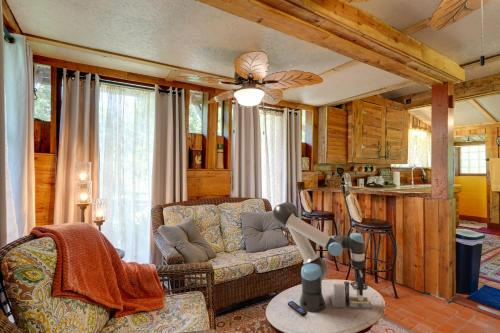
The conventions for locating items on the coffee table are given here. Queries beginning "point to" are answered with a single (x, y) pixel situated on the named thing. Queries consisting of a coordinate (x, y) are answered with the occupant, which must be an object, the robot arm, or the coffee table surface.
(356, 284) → the mechanical component
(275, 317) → the coffee table surface
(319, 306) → the robot arm
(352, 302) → the hinge base
